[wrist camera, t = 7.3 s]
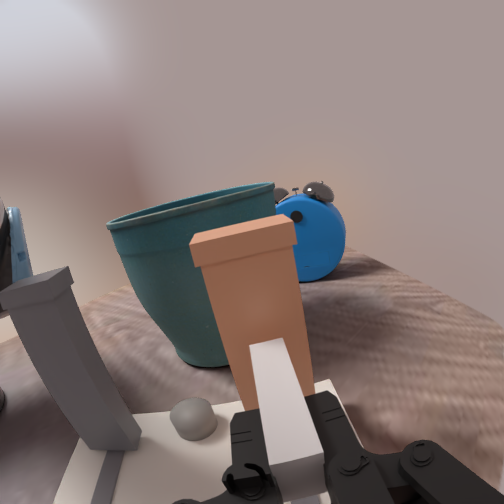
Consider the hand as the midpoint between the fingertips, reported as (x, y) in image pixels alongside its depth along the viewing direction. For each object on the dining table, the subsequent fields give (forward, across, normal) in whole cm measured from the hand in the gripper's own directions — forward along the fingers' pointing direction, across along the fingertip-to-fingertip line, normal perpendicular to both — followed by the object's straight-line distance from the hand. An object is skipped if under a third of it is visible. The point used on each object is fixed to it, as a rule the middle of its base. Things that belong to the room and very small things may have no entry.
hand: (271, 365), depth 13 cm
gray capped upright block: (+2, -12, -6) cm, 14 cm away
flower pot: (+21, -4, -10) cm, 23 cm away
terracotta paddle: (+2, 0, -6) cm, 7 cm away
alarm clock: (+34, +10, -10) cm, 37 cm away
